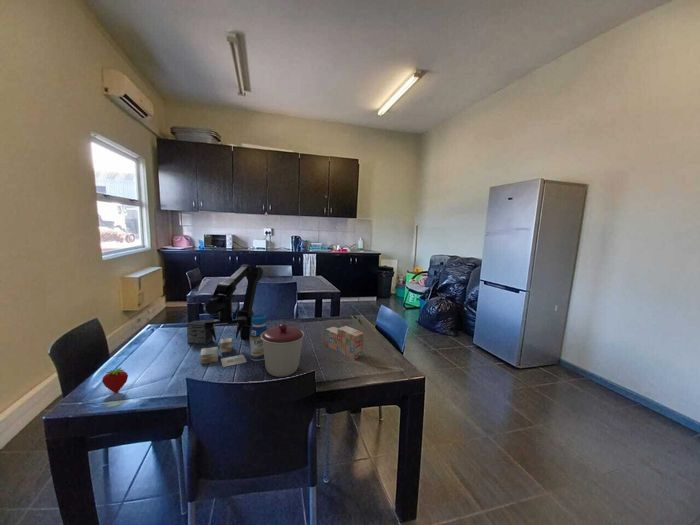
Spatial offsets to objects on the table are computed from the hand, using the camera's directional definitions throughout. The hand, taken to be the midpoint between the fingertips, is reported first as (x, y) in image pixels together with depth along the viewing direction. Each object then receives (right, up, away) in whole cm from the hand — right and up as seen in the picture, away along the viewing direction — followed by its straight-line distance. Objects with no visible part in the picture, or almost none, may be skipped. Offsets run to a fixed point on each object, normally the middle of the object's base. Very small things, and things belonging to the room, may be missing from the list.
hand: (226, 339), depth 142 cm
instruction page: (+8, -7, -10) cm, 14 cm away
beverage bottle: (+18, -7, -5) cm, 20 cm away
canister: (+31, -9, -17) cm, 37 cm away
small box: (-17, -4, +8) cm, 19 cm away
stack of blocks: (+57, -8, +6) cm, 58 cm away
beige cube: (0, -6, +1) cm, 6 cm away
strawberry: (-24, -10, -37) cm, 45 cm away
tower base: (-3, -7, -9) cm, 12 cm away
